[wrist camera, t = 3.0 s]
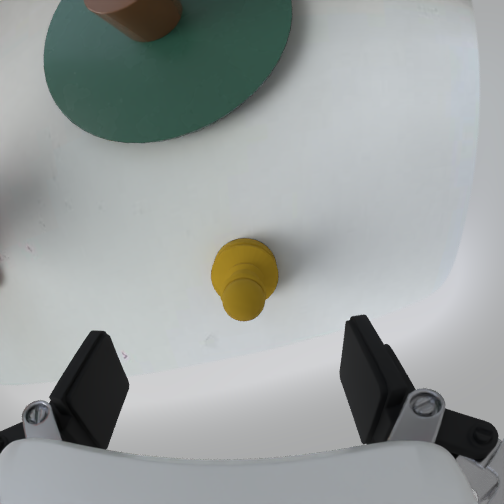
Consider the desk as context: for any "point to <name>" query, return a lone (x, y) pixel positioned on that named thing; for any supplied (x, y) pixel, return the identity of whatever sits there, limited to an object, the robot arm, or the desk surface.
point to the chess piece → (244, 277)
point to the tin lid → (160, 62)
